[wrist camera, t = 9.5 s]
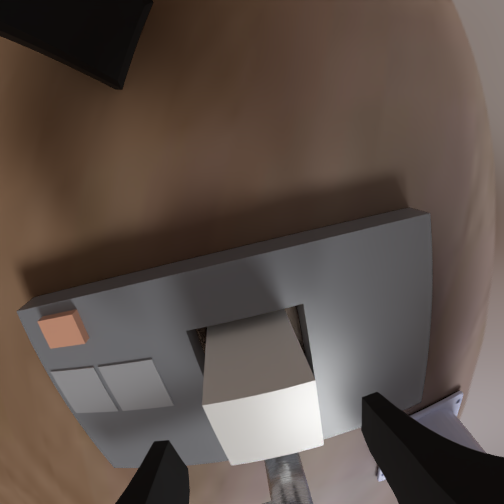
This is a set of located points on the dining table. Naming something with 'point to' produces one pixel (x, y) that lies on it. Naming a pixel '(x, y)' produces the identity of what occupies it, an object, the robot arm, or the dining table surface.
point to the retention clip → (287, 480)
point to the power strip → (234, 308)
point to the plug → (260, 389)
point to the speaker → (79, 32)
